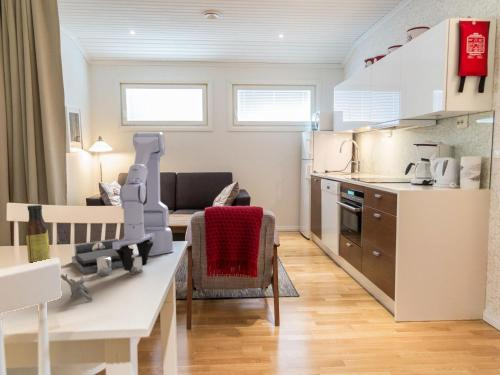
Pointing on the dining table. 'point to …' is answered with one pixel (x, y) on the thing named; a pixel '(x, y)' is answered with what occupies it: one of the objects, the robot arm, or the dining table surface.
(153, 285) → the dining table surface
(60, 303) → the dining table surface
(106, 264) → the steel spacer
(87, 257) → the pan
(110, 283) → the dining table surface
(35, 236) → the sauce bottle
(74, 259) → the scale
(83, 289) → the grey piece
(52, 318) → the dining table surface
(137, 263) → the steel spacer
